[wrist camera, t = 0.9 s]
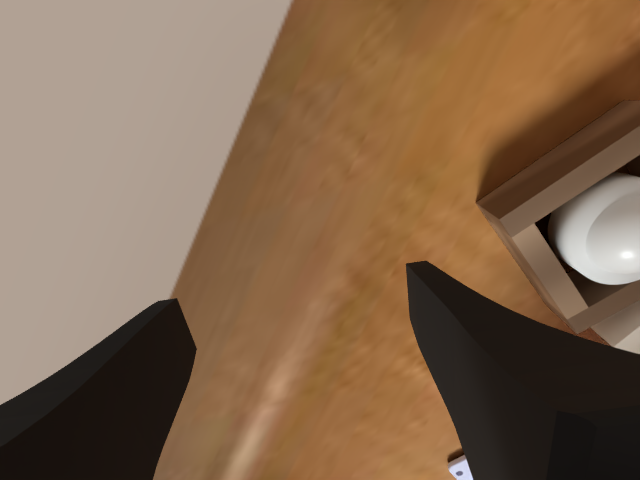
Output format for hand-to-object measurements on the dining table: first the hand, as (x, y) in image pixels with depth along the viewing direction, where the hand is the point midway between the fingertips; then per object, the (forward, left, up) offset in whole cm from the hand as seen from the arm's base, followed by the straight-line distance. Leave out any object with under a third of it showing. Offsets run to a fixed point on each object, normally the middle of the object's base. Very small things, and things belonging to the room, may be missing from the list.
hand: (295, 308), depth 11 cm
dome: (-10, -12, -10) cm, 18 cm away
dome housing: (-10, -12, -10) cm, 18 cm away
